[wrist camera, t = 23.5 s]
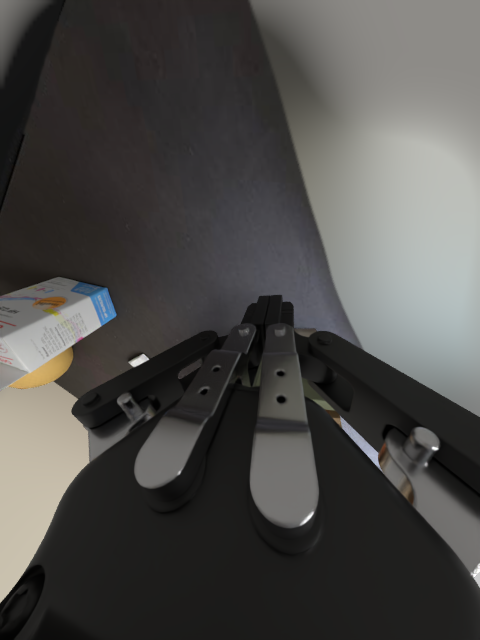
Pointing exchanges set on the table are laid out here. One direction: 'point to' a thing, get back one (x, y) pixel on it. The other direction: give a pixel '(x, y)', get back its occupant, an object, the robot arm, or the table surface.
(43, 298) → the ink box
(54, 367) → the stress ball
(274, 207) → the table surface
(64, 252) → the table surface
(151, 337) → the table surface
